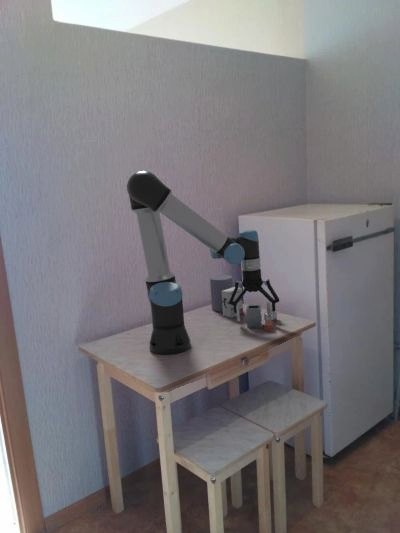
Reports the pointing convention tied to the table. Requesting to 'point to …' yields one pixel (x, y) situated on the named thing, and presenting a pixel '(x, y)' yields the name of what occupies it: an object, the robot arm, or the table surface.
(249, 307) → the socket
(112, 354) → the table surface
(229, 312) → the ink box
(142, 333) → the table surface
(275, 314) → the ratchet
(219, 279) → the container
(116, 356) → the table surface
